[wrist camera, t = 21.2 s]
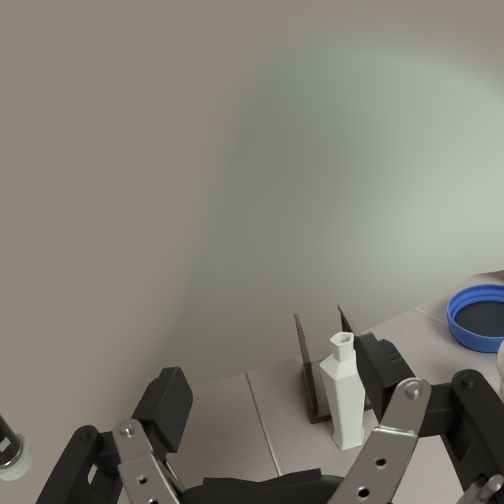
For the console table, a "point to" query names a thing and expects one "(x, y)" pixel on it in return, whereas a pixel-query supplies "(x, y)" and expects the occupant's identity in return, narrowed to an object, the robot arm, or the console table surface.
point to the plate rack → (313, 373)
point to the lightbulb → (501, 370)
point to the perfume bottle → (344, 391)
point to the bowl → (478, 317)
